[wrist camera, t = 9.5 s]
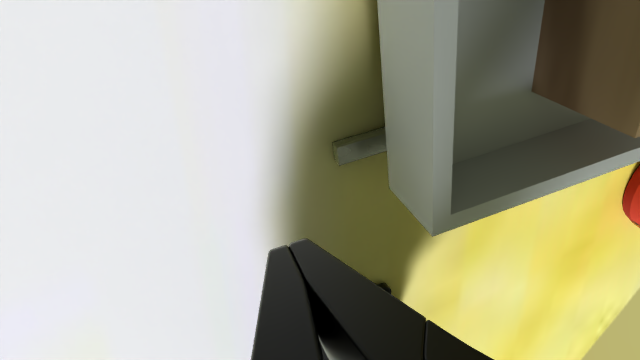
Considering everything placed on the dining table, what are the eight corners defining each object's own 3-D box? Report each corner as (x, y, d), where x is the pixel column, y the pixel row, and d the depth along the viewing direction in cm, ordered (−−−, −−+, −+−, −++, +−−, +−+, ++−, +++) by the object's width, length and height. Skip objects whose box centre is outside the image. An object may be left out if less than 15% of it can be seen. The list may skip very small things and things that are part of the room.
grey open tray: (373, 170, 22) (432, 236, 17) (350, -102, 15) (434, -112, 11) (661, 78, 25) (771, 113, 21) (741, -174, 19) (927, -202, 14)
